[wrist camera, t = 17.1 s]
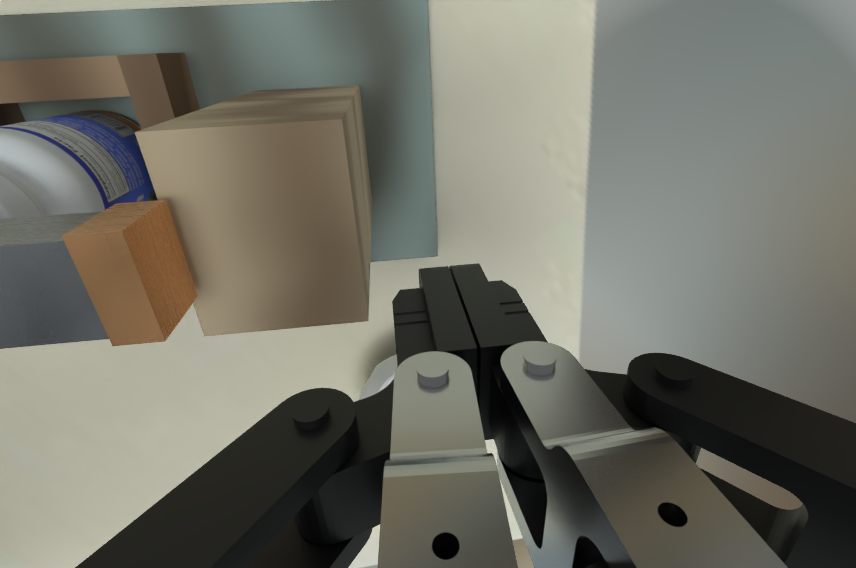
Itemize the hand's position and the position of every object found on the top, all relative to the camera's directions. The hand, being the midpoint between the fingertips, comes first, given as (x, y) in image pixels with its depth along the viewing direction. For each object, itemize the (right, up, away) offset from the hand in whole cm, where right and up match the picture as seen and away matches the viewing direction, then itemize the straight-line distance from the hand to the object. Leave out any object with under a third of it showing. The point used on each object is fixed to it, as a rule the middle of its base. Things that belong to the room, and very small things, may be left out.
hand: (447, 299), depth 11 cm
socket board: (-11, +7, +12) cm, 18 cm away
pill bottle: (-16, +6, +11) cm, 21 cm away
